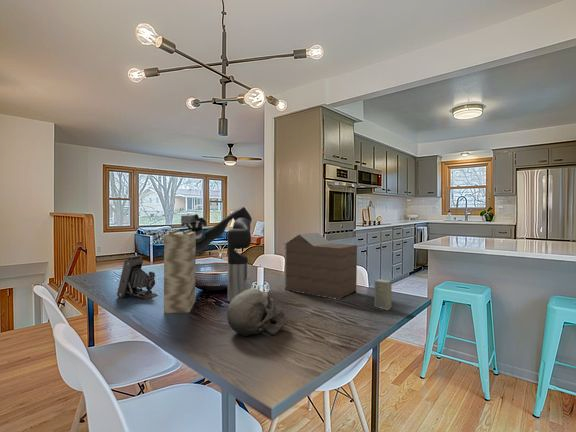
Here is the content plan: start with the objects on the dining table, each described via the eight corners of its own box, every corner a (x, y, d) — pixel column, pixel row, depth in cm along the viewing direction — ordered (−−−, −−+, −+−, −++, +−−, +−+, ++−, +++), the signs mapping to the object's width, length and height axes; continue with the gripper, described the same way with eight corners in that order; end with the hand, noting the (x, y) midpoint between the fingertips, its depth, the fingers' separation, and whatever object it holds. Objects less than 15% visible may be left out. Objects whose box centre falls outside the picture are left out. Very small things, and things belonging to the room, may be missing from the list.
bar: (196, 221, 172) (196, 214, 172) (189, 223, 147) (189, 215, 147) (190, 221, 172) (190, 214, 172) (181, 223, 146) (181, 215, 146)
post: (195, 301, 146) (195, 229, 145) (189, 312, 130) (190, 231, 129) (172, 301, 144) (172, 229, 144) (163, 313, 128) (164, 231, 128)
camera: (144, 308, 146) (155, 266, 145) (113, 296, 149) (123, 255, 148) (158, 301, 157) (168, 263, 156) (129, 291, 160) (139, 253, 159)
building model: (301, 282, 186) (302, 231, 185) (356, 292, 166) (357, 234, 165) (282, 289, 171) (282, 233, 170) (339, 300, 150) (340, 237, 150)
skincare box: (391, 308, 138) (392, 280, 138) (387, 311, 135) (387, 282, 135) (378, 305, 142) (378, 278, 142) (373, 307, 139) (374, 280, 139)
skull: (297, 322, 106) (255, 283, 102) (263, 361, 103) (219, 322, 99) (286, 310, 119) (248, 275, 115) (256, 344, 116) (216, 310, 112)
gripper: (183, 224, 181) (178, 209, 166) (209, 224, 183) (206, 209, 168) (182, 236, 178) (176, 221, 163) (208, 236, 180) (205, 221, 165)
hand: (191, 215), depth 166 cm, fingers closed on bar, 3 cm apart
